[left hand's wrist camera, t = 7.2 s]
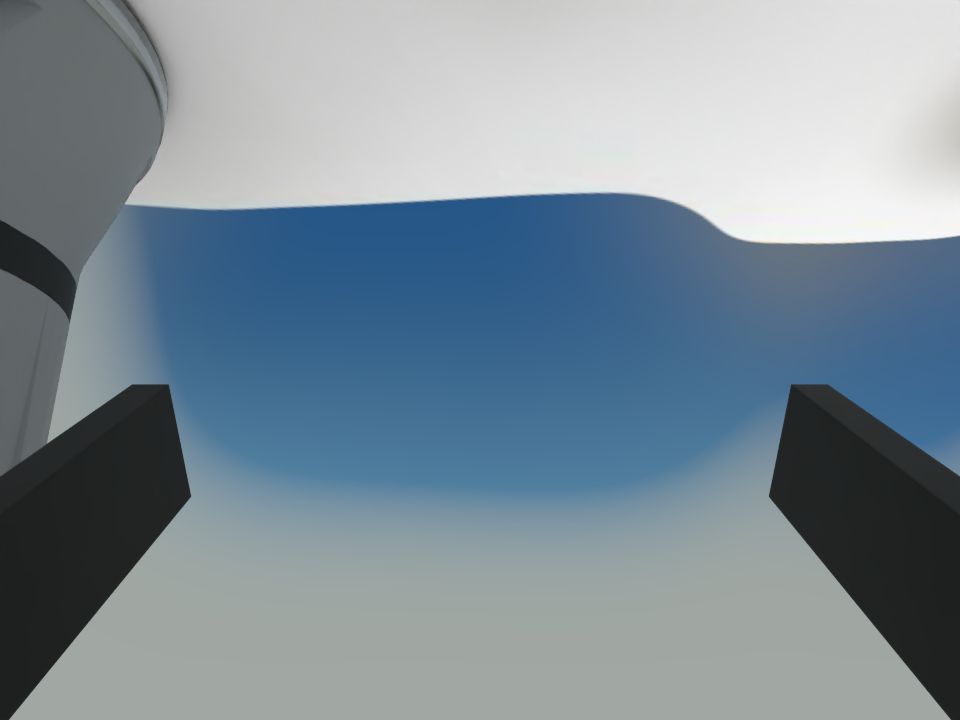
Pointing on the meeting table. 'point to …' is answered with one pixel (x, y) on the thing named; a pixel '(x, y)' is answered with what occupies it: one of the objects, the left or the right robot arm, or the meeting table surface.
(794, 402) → the left robot arm
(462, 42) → the meeting table surface
